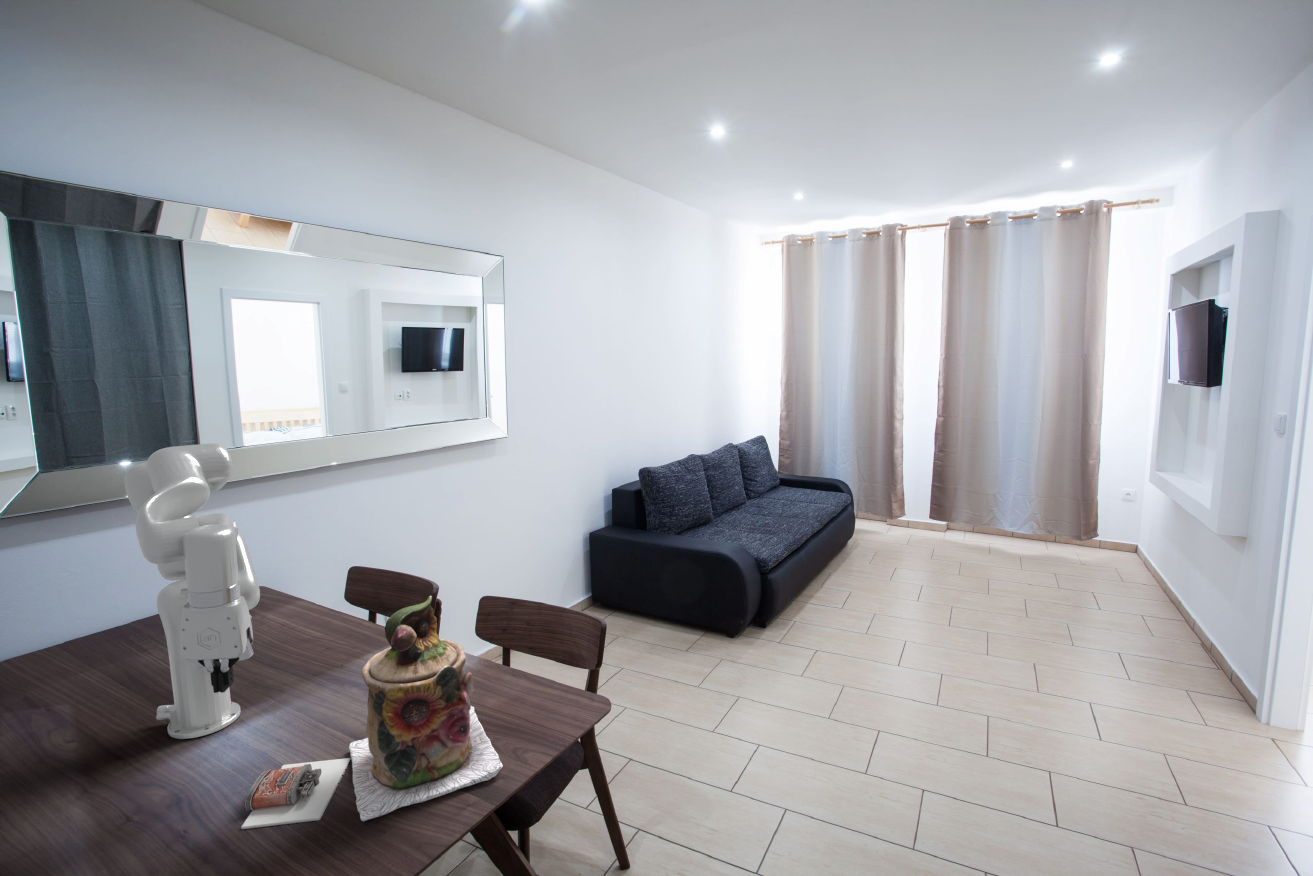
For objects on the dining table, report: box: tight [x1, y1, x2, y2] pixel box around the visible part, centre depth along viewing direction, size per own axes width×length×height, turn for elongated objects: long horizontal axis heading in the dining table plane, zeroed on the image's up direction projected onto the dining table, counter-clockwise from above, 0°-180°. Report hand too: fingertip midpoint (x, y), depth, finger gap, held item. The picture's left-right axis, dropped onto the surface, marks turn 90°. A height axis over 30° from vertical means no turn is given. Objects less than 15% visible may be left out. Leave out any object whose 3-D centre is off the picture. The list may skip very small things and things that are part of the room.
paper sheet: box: [240, 757, 352, 830], centre depth 111 cm, size 12×16×1 cm
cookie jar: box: [348, 595, 504, 822], centre depth 117 cm, size 25×25×32 cm
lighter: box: [244, 764, 322, 812], centre depth 110 cm, size 8×3×10 cm
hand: (223, 688), depth 114 cm, fingers closed
